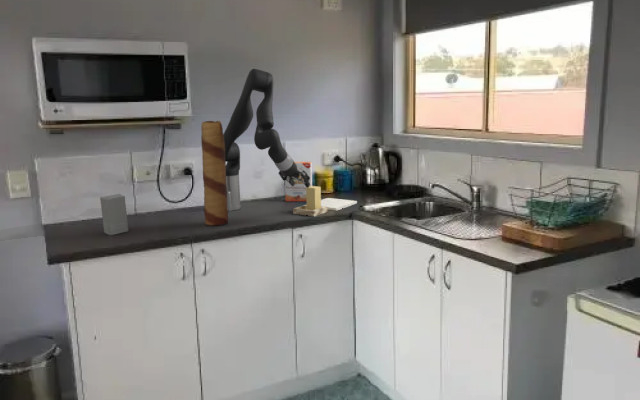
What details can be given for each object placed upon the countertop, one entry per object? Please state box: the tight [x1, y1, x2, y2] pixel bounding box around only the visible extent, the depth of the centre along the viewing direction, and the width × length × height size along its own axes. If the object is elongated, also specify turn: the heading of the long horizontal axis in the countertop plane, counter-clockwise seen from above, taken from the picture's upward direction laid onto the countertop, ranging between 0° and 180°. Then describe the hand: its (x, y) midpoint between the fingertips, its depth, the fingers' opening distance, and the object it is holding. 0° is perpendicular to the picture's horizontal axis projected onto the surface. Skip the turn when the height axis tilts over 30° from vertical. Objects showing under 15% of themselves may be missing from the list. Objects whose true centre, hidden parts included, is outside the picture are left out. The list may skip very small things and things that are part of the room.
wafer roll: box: [200, 120, 229, 226], centre depth 225 cm, size 10×11×45 cm
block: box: [306, 185, 322, 210], centre depth 248 cm, size 5×5×12 cm
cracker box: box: [284, 161, 313, 203], centre depth 274 cm, size 14×6×21 cm, turn 84°
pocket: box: [292, 203, 328, 217], centre depth 246 cm, size 12×12×2 cm
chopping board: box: [321, 197, 358, 211], centre depth 263 cm, size 20×18×1 cm
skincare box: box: [99, 193, 129, 236], centre depth 215 cm, size 8×7×16 cm
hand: (301, 185), depth 238 cm, fingers open, 8 cm apart
